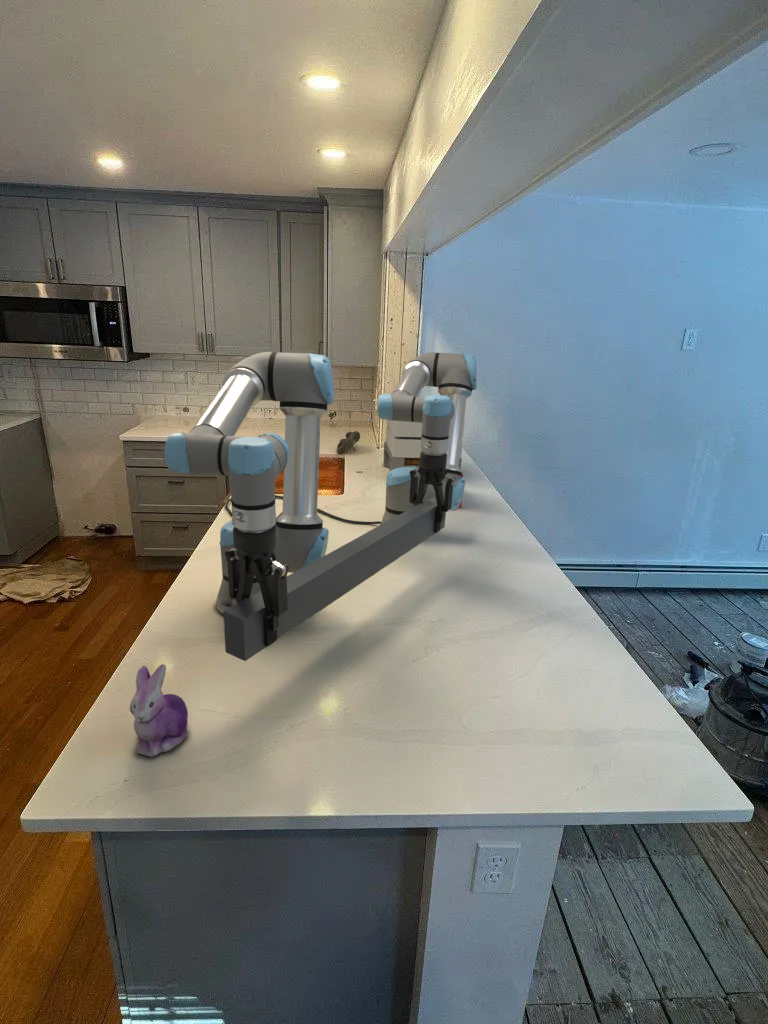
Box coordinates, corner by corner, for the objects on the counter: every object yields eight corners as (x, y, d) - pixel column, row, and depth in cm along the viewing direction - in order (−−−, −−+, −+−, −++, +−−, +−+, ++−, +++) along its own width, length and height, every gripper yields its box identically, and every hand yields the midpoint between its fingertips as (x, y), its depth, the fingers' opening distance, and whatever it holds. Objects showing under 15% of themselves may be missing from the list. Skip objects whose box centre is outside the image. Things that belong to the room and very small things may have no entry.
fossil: (337, 437, 322) (357, 422, 317) (347, 450, 325) (368, 435, 320) (330, 450, 302) (352, 434, 297) (341, 464, 305) (363, 448, 300)
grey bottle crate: (382, 463, 289) (386, 382, 275) (445, 464, 293) (451, 384, 279) (390, 482, 257) (394, 392, 243) (460, 483, 261) (468, 394, 247)
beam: (430, 523, 172) (432, 496, 169) (444, 527, 170) (447, 500, 167) (225, 652, 105) (223, 611, 102) (245, 661, 102) (243, 619, 99)
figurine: (137, 767, 96) (127, 693, 90) (132, 728, 104) (122, 659, 99) (195, 750, 100) (189, 678, 95) (185, 714, 108) (179, 646, 103)
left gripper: (202, 520, 102) (211, 632, 110) (279, 545, 93) (282, 664, 101) (233, 508, 108) (239, 615, 116) (308, 531, 99) (309, 644, 107)
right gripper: (399, 449, 159) (395, 526, 167) (457, 460, 150) (450, 541, 159) (411, 444, 165) (407, 518, 173) (469, 455, 156) (461, 532, 165)
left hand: (259, 637), depth 109 cm, fingers closed on beam, 5 cm apart
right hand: (428, 529), depth 166 cm, fingers closed on beam, 5 cm apart
